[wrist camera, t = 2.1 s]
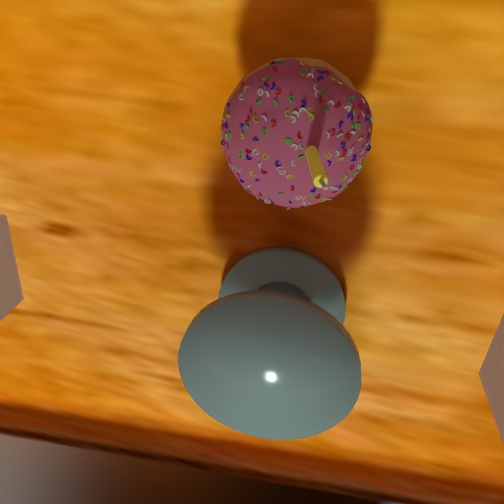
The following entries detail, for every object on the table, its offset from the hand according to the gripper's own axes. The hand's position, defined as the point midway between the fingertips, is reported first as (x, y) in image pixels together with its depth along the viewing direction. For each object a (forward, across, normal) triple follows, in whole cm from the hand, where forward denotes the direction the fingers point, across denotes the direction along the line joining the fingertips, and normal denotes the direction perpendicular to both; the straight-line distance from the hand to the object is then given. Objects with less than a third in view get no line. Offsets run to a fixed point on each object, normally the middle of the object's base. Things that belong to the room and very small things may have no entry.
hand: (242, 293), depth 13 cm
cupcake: (+21, 0, 0) cm, 21 cm away
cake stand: (+21, 0, +15) cm, 26 cm away
